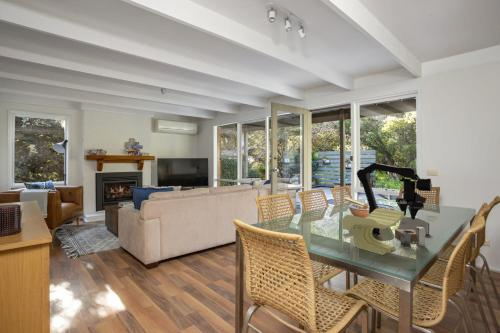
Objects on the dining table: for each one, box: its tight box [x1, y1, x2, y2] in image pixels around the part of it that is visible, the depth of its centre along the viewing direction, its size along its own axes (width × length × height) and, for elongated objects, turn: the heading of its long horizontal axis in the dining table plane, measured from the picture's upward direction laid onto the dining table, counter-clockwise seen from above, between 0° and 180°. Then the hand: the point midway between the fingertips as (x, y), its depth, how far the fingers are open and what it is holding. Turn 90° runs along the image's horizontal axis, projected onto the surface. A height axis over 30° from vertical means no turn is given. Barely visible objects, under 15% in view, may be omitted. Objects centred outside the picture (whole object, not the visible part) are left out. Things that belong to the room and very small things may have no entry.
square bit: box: [415, 227, 426, 247], centre depth 140 cm, size 3×3×9 cm
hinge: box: [397, 216, 430, 237], centre depth 164 cm, size 17×5×10 cm, turn 35°
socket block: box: [394, 228, 416, 243], centre depth 150 cm, size 10×10×4 cm
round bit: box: [399, 232, 412, 247], centre depth 139 cm, size 5×5×6 cm
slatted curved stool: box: [342, 207, 405, 256], centre depth 135 cm, size 30×16×18 cm, turn 127°
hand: (408, 217), depth 150 cm, fingers open, 9 cm apart
